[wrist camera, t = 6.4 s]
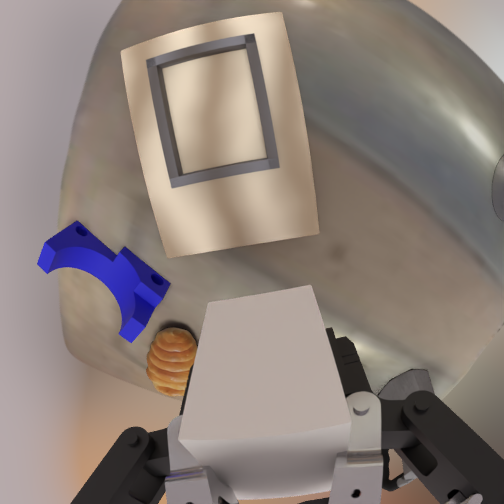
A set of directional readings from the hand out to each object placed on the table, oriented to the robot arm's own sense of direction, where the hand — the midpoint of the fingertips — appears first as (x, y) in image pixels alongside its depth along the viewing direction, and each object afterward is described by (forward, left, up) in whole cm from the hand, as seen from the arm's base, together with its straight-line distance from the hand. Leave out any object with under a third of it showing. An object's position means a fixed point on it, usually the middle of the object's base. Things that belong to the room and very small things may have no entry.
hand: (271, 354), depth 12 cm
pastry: (+10, +13, -16) cm, 23 cm away
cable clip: (+15, +1, -16) cm, 22 cm away
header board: (+2, -9, -15) cm, 18 cm away
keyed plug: (0, 0, 0) cm, 0 cm away
